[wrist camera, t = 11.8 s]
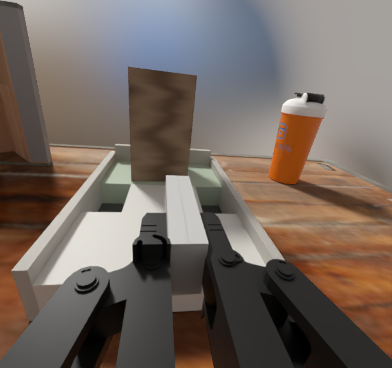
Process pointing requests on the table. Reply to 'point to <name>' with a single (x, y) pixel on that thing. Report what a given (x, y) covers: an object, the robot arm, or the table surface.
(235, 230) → the box
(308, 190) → the table surface
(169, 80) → the walnut block
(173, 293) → the robot arm
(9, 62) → the cabinet
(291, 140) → the shaker bottle
